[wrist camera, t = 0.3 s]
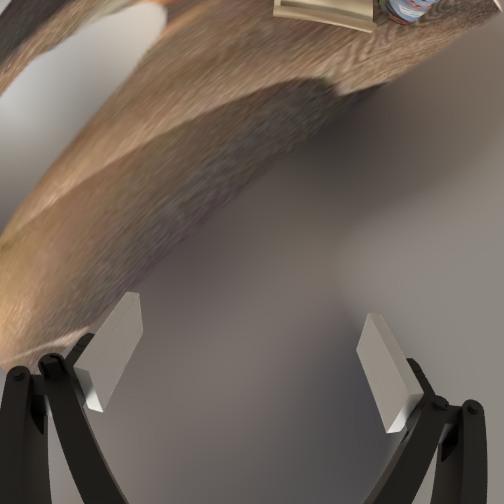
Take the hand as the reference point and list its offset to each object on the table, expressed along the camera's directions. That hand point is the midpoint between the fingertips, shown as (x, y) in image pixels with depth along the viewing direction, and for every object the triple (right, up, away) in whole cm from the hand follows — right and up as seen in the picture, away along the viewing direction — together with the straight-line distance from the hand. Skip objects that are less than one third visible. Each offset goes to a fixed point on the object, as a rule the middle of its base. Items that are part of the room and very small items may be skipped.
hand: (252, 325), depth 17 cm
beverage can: (+21, +40, +14) cm, 48 cm away
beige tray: (+10, +41, +14) cm, 45 cm away
